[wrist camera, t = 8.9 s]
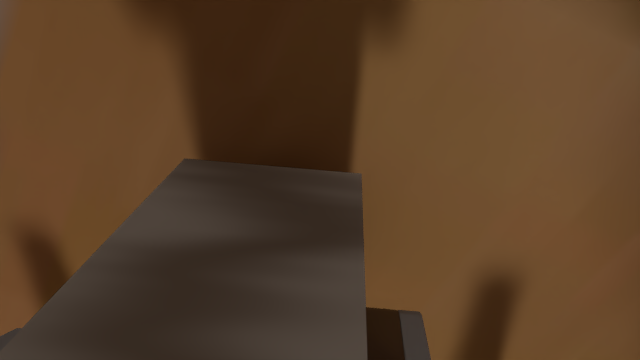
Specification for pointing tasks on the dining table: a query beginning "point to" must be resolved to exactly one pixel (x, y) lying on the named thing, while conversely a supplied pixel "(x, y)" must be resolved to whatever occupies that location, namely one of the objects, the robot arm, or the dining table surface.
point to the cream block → (218, 274)
